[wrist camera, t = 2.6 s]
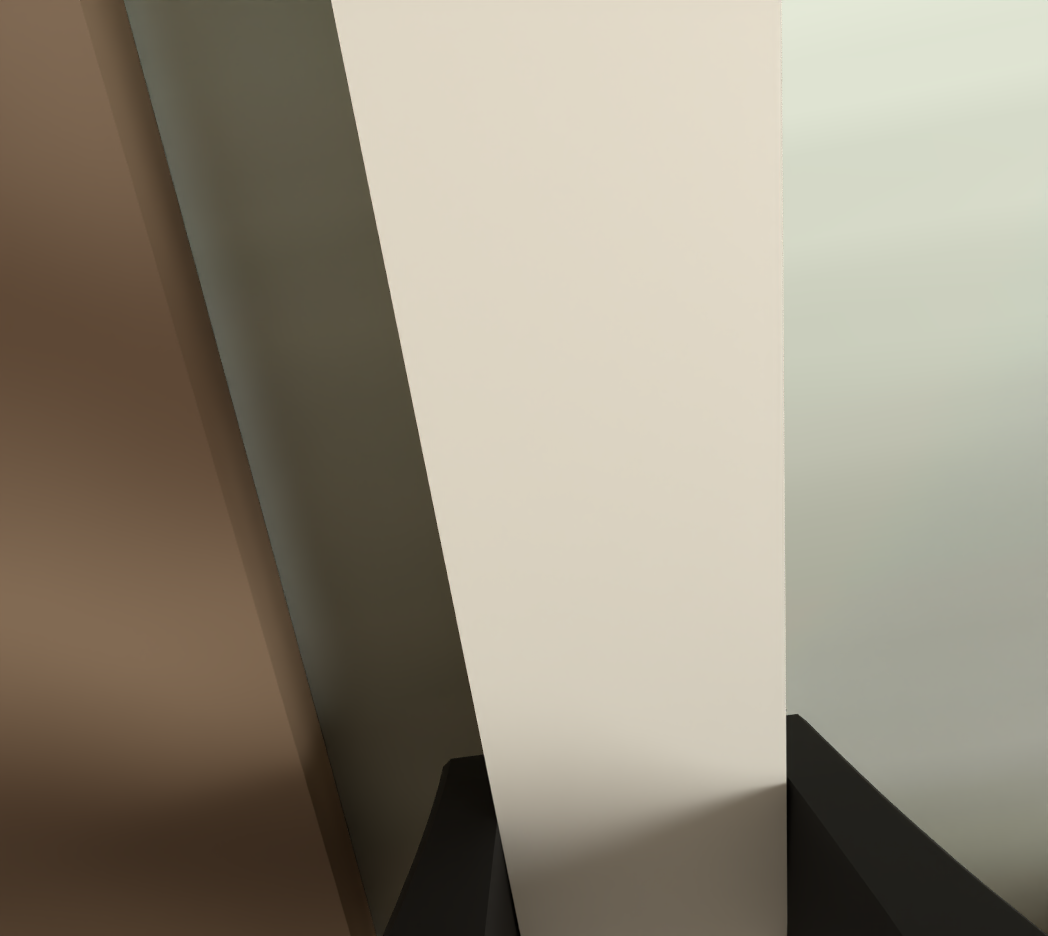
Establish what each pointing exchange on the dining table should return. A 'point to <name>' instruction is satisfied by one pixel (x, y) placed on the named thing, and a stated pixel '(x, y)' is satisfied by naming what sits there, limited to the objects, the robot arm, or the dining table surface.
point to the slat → (600, 427)
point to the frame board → (135, 547)
